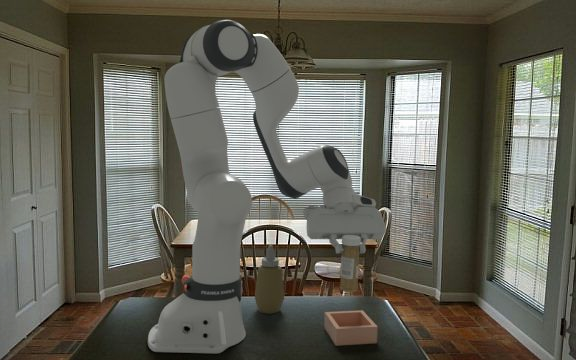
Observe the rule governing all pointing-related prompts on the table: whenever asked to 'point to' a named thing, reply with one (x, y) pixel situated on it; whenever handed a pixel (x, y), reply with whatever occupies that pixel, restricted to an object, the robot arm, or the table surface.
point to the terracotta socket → (350, 327)
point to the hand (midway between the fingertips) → (351, 252)
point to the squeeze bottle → (269, 284)
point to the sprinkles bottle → (350, 263)
